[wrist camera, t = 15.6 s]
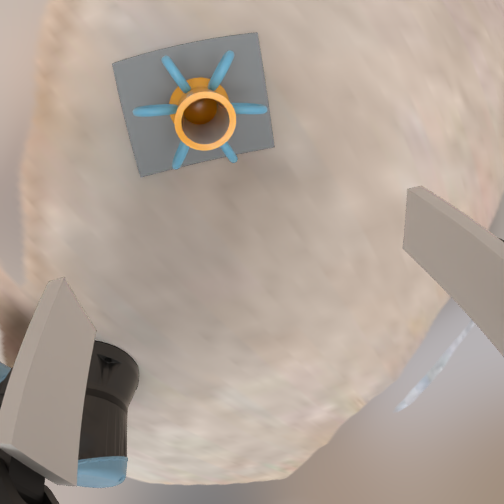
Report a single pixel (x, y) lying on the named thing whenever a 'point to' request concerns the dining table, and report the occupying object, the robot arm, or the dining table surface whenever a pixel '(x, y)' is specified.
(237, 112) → the orange hollow ringed part
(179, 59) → the card
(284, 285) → the dining table surface
